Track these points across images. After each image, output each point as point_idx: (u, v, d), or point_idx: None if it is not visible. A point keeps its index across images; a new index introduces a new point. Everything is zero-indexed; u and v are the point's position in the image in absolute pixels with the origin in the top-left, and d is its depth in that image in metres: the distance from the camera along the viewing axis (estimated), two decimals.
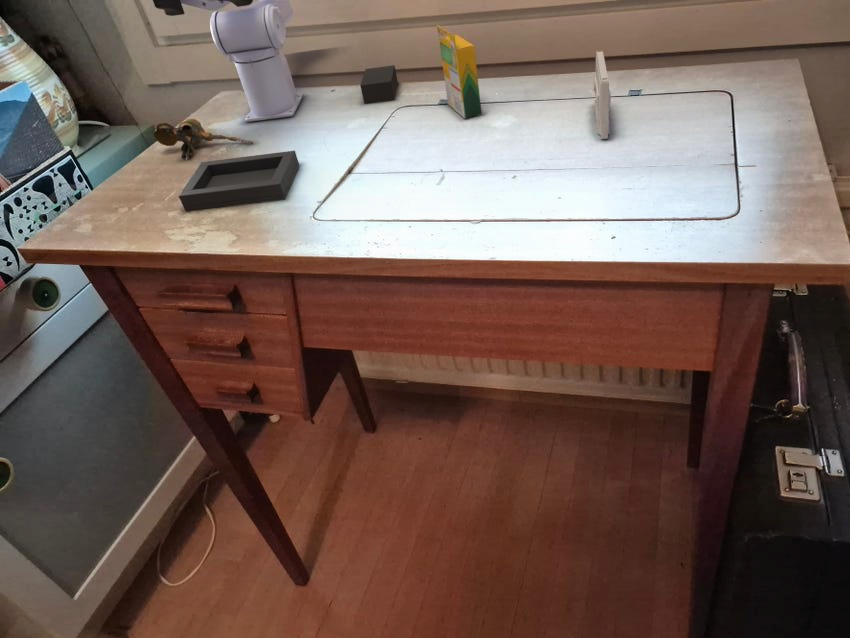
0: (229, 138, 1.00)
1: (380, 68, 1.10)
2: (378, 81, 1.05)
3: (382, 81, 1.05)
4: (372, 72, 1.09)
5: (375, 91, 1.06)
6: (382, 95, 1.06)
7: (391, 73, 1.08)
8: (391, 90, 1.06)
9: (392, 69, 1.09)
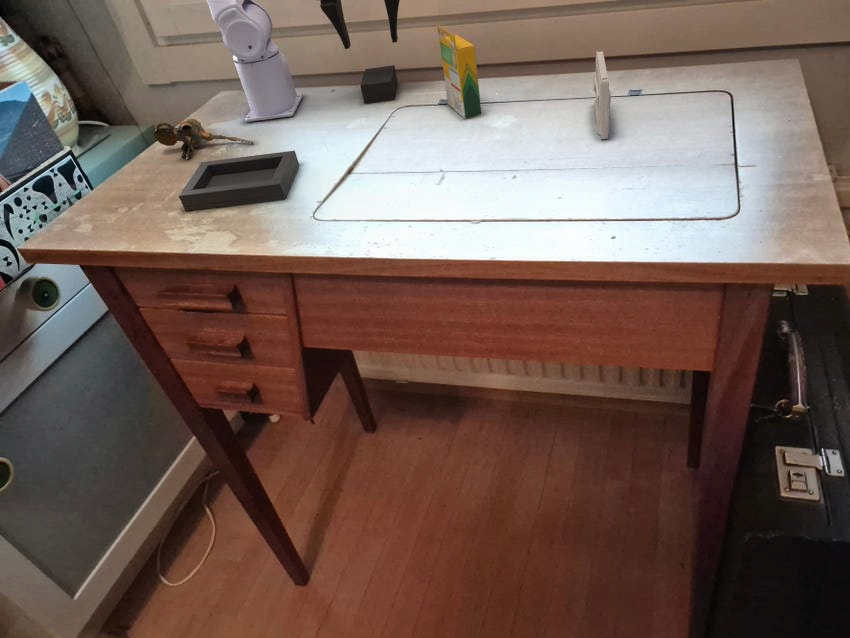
0: (229, 138, 1.00)
1: (380, 68, 1.10)
2: (378, 81, 1.05)
3: (382, 81, 1.05)
4: (372, 72, 1.09)
5: (375, 91, 1.06)
6: (382, 95, 1.06)
7: (391, 73, 1.08)
8: (391, 90, 1.06)
9: (392, 69, 1.09)
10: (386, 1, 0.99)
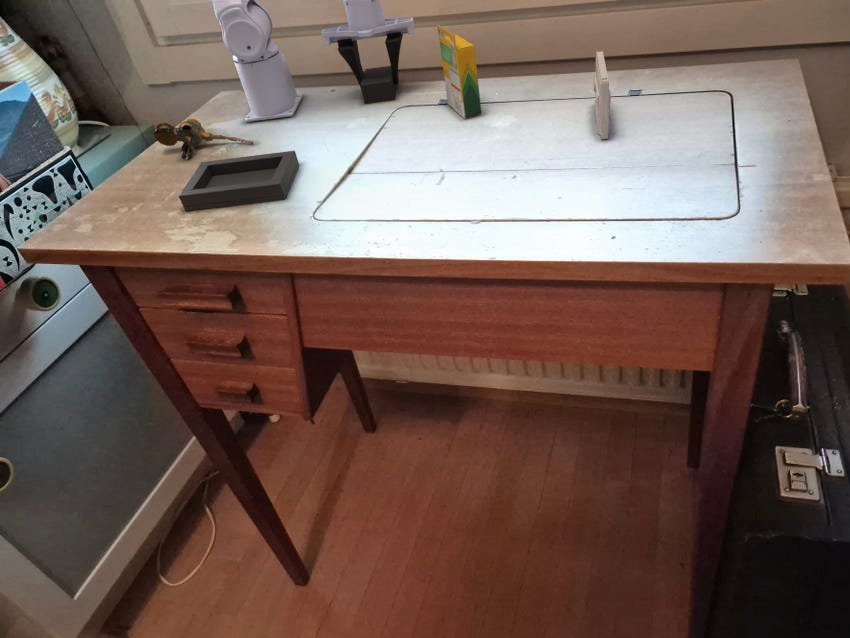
0: (229, 138, 1.00)
1: (380, 68, 1.10)
2: (378, 81, 1.05)
3: (382, 81, 1.05)
4: (372, 72, 1.09)
5: (375, 91, 1.06)
6: (382, 95, 1.06)
7: (391, 73, 1.08)
8: (391, 90, 1.06)
9: None
10: (388, 47, 1.03)
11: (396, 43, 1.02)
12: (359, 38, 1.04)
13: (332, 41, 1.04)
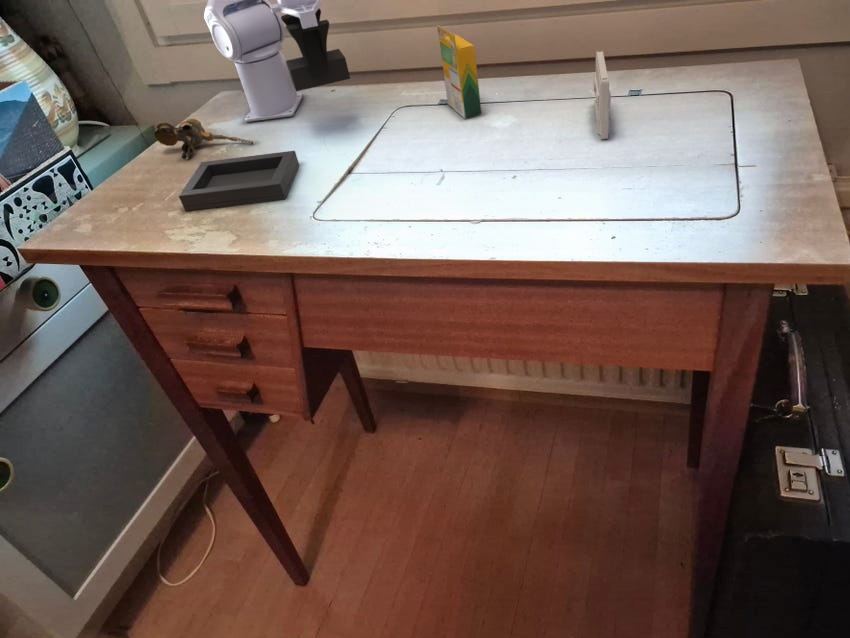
0: (229, 138, 1.00)
1: (336, 54, 0.95)
2: (291, 65, 0.94)
3: (291, 66, 0.93)
4: None
5: (290, 73, 0.95)
6: (292, 81, 0.95)
7: None
8: (292, 80, 0.93)
9: (329, 60, 0.93)
10: None
11: None
12: None
13: None
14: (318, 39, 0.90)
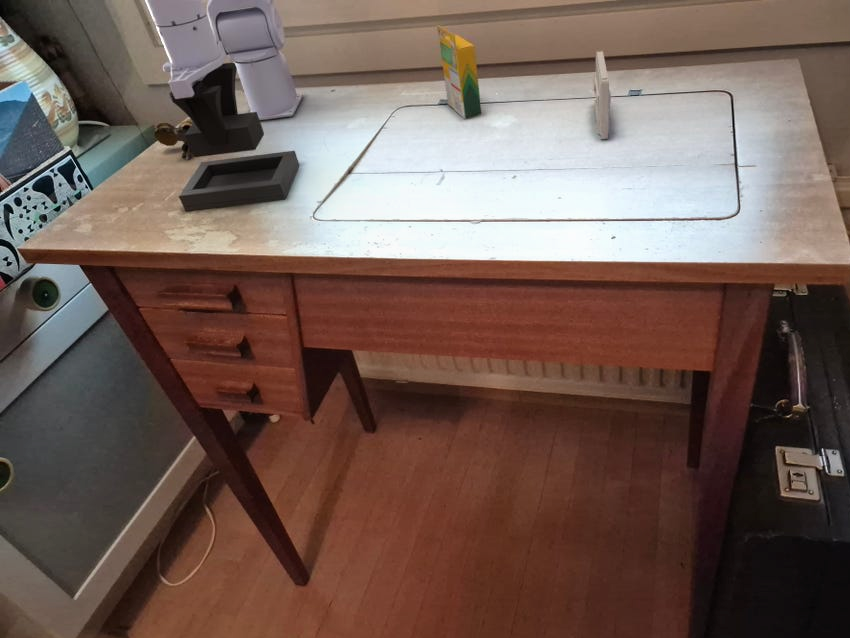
0: None
1: (245, 120, 0.82)
2: (193, 127, 0.83)
3: (191, 129, 0.82)
4: (236, 117, 0.83)
5: None
6: None
7: None
8: None
9: (230, 128, 0.81)
10: None
11: None
12: None
13: None
14: None
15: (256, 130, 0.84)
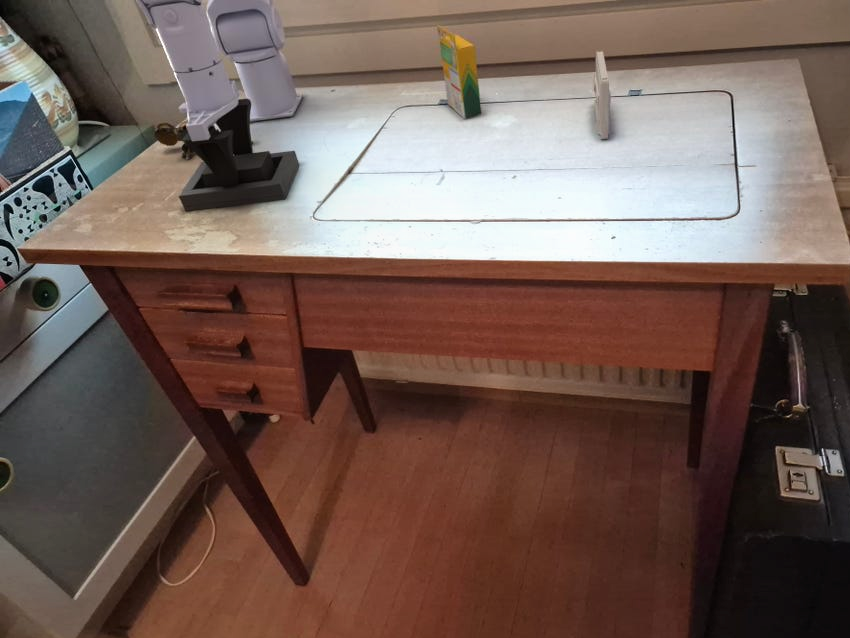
0: None
1: (258, 160, 0.86)
2: None
3: (206, 169, 0.85)
4: (250, 157, 0.87)
5: None
6: None
7: None
8: (205, 184, 0.86)
9: (244, 168, 0.84)
10: None
11: None
12: None
13: None
14: None
15: (269, 169, 0.87)
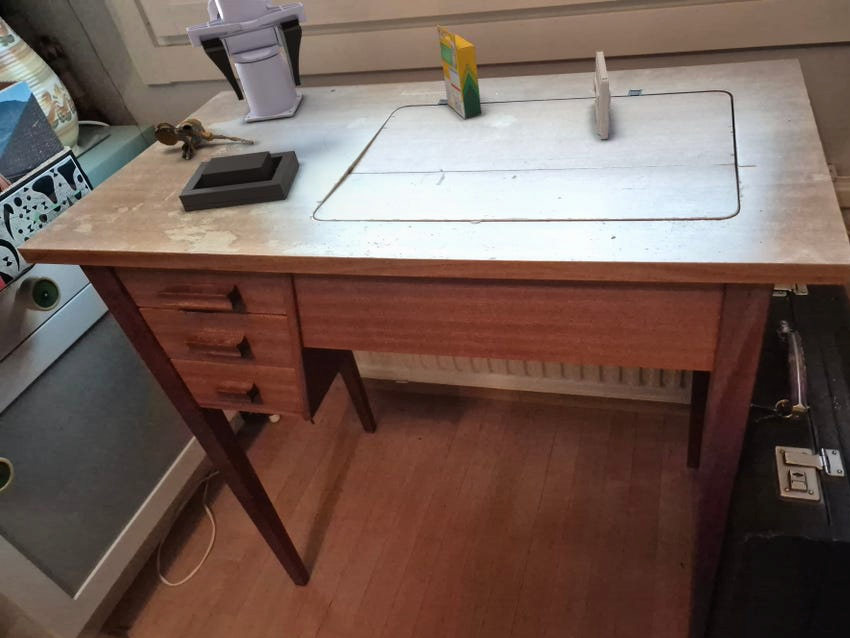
0: (230, 138, 1.00)
1: (258, 160, 0.86)
2: (208, 166, 0.86)
3: (206, 169, 0.85)
4: (250, 157, 0.87)
5: None
6: None
7: (229, 170, 0.84)
8: (205, 184, 0.86)
9: (244, 168, 0.84)
10: (287, 38, 0.83)
11: (297, 32, 0.83)
12: (237, 34, 0.83)
13: None
14: None
15: (269, 169, 0.87)
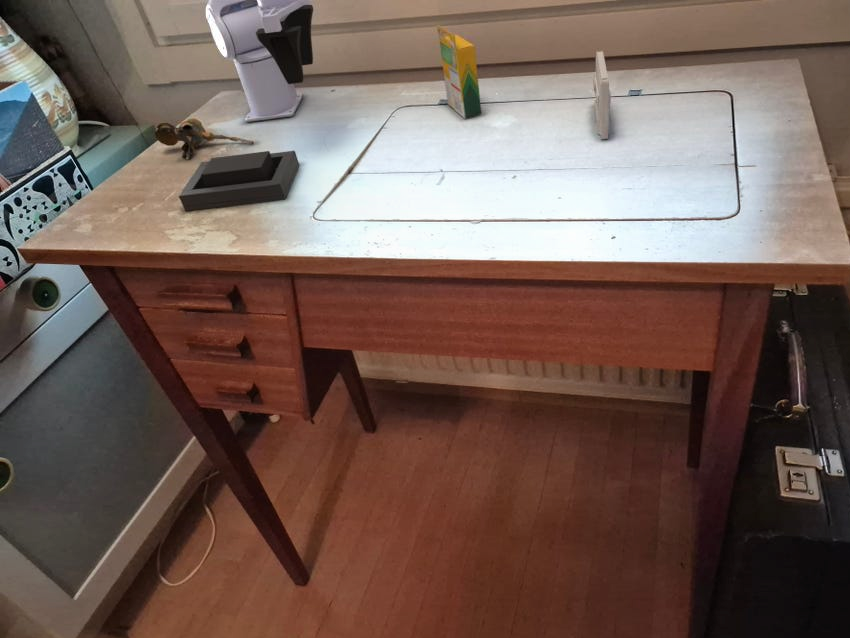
0: (230, 138, 1.00)
1: (258, 160, 0.86)
2: (208, 166, 0.86)
3: (206, 169, 0.85)
4: (250, 157, 0.87)
5: None
6: None
7: (229, 170, 0.84)
8: (205, 184, 0.86)
9: (244, 168, 0.84)
10: (310, 15, 0.91)
11: None
12: (284, 18, 0.86)
13: None
14: None
15: (269, 169, 0.87)
